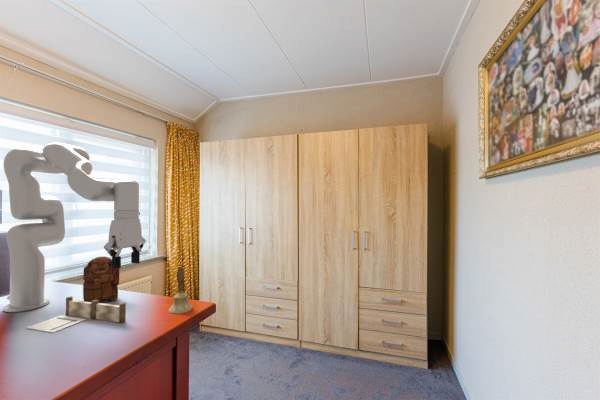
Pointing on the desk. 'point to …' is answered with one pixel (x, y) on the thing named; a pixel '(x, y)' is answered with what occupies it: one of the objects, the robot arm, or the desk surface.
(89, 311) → the fence fixed
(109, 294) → the wooden figurine
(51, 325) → the card
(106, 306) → the fence panel
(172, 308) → the hand bell
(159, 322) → the desk surface
